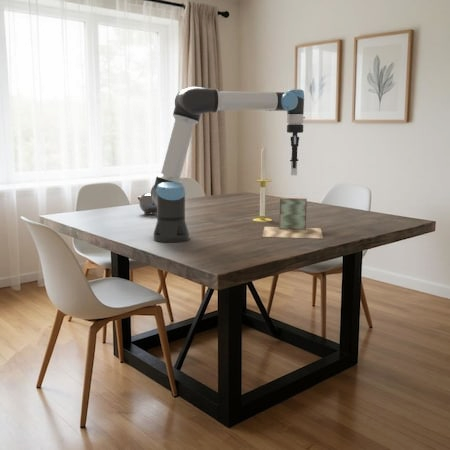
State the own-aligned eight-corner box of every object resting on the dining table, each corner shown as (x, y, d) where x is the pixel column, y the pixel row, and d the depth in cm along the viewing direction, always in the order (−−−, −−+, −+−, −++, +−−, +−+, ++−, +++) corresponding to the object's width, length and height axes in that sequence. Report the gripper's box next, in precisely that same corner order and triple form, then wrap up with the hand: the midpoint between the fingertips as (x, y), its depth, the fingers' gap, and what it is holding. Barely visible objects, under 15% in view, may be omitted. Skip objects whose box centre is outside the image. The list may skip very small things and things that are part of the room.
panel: (279, 229, 249) (280, 198, 246) (279, 227, 252) (280, 197, 249) (305, 229, 248) (306, 199, 245) (305, 228, 251) (306, 198, 248)
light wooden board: (262, 237, 233) (262, 236, 233) (264, 227, 254) (264, 226, 254) (323, 239, 230) (323, 238, 230) (320, 229, 251) (320, 228, 251)
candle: (261, 218, 279) (262, 144, 272) (276, 220, 272) (278, 145, 265) (248, 220, 272) (249, 145, 265) (263, 223, 265) (264, 145, 258)
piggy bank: (163, 216, 281) (162, 194, 279) (135, 215, 283) (134, 194, 281) (168, 213, 292) (167, 192, 290) (141, 212, 294) (140, 191, 292)
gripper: (303, 124, 243) (302, 176, 247) (303, 123, 256) (301, 173, 260) (286, 124, 244) (285, 176, 248) (287, 123, 256) (286, 173, 261)
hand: (293, 175), depth 254 cm, fingers closed
